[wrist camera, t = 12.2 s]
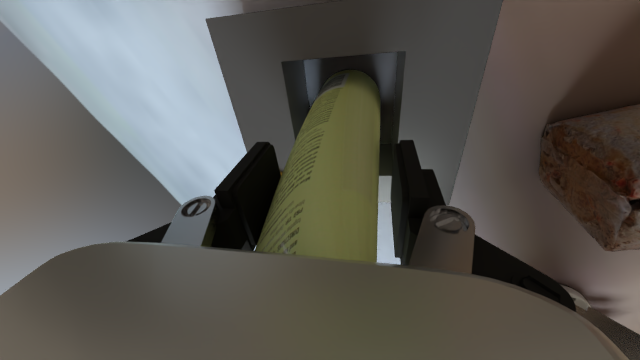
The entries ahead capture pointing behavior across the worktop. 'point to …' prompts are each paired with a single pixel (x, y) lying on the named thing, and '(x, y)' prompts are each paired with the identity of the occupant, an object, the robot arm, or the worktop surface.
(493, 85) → the worktop surface
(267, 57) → the port block
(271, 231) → the tube
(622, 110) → the food item
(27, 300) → the robot arm
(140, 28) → the worktop surface
